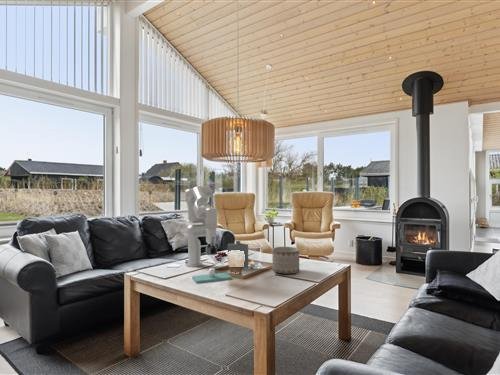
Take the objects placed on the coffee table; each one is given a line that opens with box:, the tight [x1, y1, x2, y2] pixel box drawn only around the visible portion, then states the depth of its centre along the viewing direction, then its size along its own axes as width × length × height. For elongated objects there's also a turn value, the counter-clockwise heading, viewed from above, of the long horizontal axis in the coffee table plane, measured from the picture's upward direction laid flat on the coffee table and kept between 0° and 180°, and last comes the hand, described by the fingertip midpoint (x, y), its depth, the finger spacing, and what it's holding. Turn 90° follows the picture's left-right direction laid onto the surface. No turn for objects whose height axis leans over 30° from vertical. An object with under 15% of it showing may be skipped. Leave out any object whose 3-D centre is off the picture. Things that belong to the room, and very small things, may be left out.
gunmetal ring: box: [205, 245, 218, 256], centre depth 217 cm, size 7×7×5 cm
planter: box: [271, 246, 300, 275], centre depth 233 cm, size 19×19×16 cm
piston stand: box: [192, 267, 233, 284], centre depth 217 cm, size 12×24×6 cm, turn 112°
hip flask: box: [227, 240, 249, 268], centre depth 248 cm, size 16×4×20 cm, turn 83°
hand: (211, 252), depth 217 cm, fingers closed on gunmetal ring, 7 cm apart
